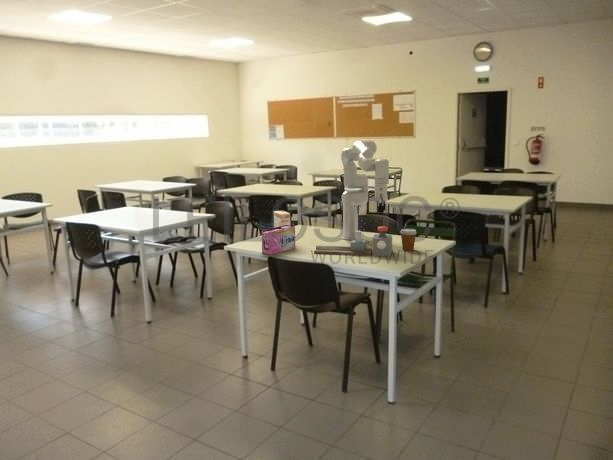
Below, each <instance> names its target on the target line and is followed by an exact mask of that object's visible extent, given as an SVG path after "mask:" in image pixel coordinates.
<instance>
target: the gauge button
mask: <svg viewBox="0 0 613 460" xmlns="http://www.w3.org/2000/svg"><path fill="white" fill-rule="evenodd" d="M388 229H389V228H388V226H386V225H385V226H383V225H381V226H377V232H378V235H379V237H384V238H386V235H387V232H388Z"/></svg>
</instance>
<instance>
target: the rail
mask: <svg viewBox="0 0 613 460" xmlns="http://www.w3.org/2000/svg"><path fill="white" fill-rule="evenodd" d="M313 254H315V255H316V254H317V255H339V254H347V255H346V256H372V255H373V246H366V247H365V251H351V248H350V245H349V246H348V245H322V244H321V245H320V244H317V245H315V249H314V251H313Z"/></svg>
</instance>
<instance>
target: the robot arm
mask: <svg viewBox="0 0 613 460" xmlns="http://www.w3.org/2000/svg"><path fill="white" fill-rule="evenodd" d="M377 149H378V147H377V144H376V143H375V141H373V140H357V141H355V142H354V143H353V145H352V147H345V148H343V150H342V151H341V155H340V156H341V157H340V159H341V161H342V165H343V186H344V188H346V189H350V190H346V191H343V193H342V194H341V202H342V204H341V205H342V222H343V223H342V225H343V226H342V227H343V230H342V232H343V233H342V234H343V235H341V236H340V238H341V239H342V240H344V241H345V240H346V241H347V240H348V241H352V240H355V231H359V230H358V229H359V228H358V227H359V226H358V225H359V224H358V222H359V221H358V220H359V217H358V215H359V214H358V209H357V208H356V207H355V206H359V205H366V204H367V203H368V200H369V179H368V176H367V175H366V173H369V172H371V173H373V172H374V178H375V179H374V181H375V182H374V185H376V197H377V202H378V203H377V213H378V214H384V212H385V211H386V202H387V201H388V185H389V178H390V177H389V175H390V172H389V171H390V169H389V168H390V162H389V160H388V159H387V158H386V159H385V158H383V157H381V158H380V157H379V158H377V157H376V158H374V155H375V154H376V151H377ZM355 162H357V164H358V167H359V169H361V170H362V171H363V172H365V173H358V171H357V170H358V169H357V165H356V163H355ZM351 189H353V190H351ZM354 189H355V190H354ZM356 189H359V190H356Z"/></svg>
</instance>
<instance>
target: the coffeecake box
mask: <svg viewBox="0 0 613 460" xmlns="http://www.w3.org/2000/svg"><path fill="white" fill-rule="evenodd" d="M284 225H289V226H291V213H290V212H288V211H285V210H273V228H275V227H279V226H284Z"/></svg>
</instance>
